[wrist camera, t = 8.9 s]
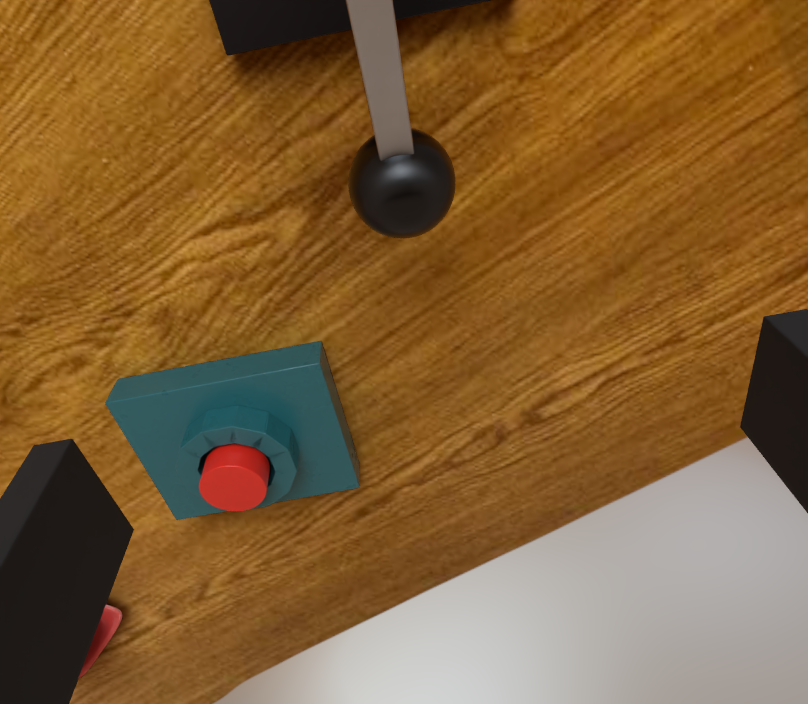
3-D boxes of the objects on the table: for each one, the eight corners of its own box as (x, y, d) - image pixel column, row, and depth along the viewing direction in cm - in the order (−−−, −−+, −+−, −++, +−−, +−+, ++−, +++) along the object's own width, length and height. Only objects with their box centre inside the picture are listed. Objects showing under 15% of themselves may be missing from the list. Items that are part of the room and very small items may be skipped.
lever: (448, 174, 22) (466, 249, 21) (355, 193, 23) (365, 268, 21) (405, -351, 11) (438, -283, 9) (215, -306, 11) (212, -232, 9)
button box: (321, 340, 34) (318, 383, 30) (359, 463, 39) (360, 510, 36) (117, 378, 34) (92, 425, 31) (184, 494, 40) (169, 544, 37)
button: (258, 437, 33) (254, 460, 31) (278, 482, 35) (274, 505, 33) (195, 449, 33) (188, 472, 32) (218, 492, 35) (212, 516, 34)
